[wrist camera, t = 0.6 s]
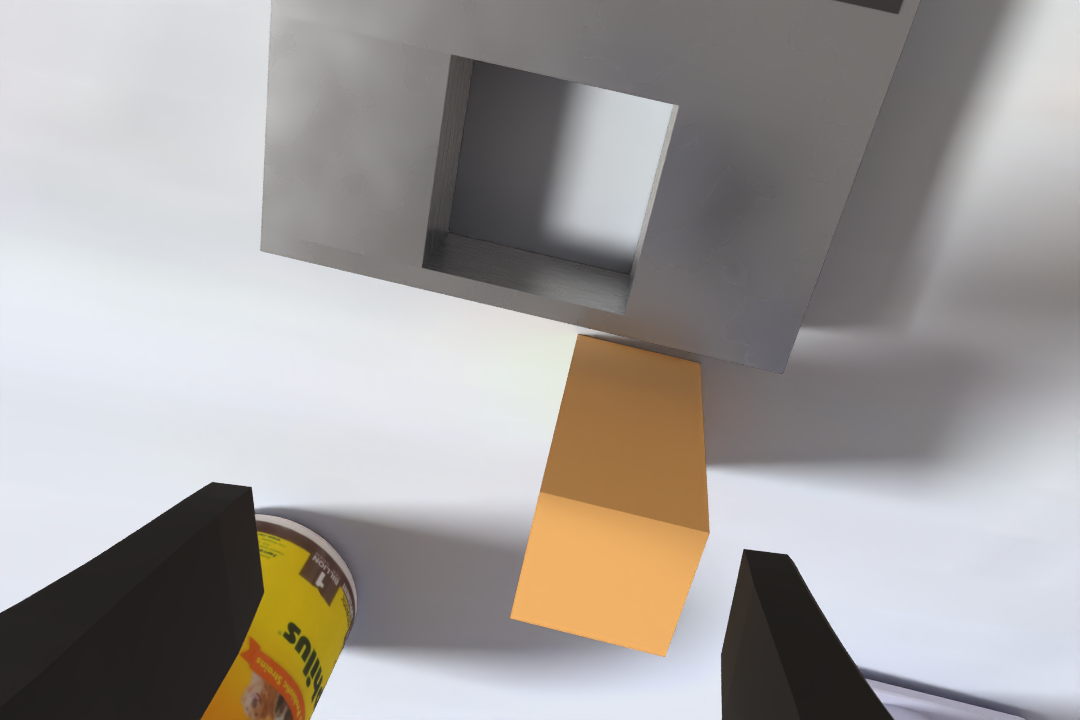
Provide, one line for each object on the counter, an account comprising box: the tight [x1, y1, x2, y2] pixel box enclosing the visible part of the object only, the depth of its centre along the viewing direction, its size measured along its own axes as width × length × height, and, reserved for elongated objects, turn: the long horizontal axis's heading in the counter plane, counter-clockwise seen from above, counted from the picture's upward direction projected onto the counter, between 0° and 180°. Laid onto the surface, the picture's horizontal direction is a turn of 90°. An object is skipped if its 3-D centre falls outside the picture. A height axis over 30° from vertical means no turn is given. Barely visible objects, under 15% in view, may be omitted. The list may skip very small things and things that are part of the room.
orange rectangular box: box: [510, 334, 710, 657], centre depth 20 cm, size 3×3×7 cm
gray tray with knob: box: [260, 0, 920, 374], centre depth 16 cm, size 12×12×6 cm
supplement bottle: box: [201, 514, 357, 720], centre depth 23 cm, size 6×6×10 cm
